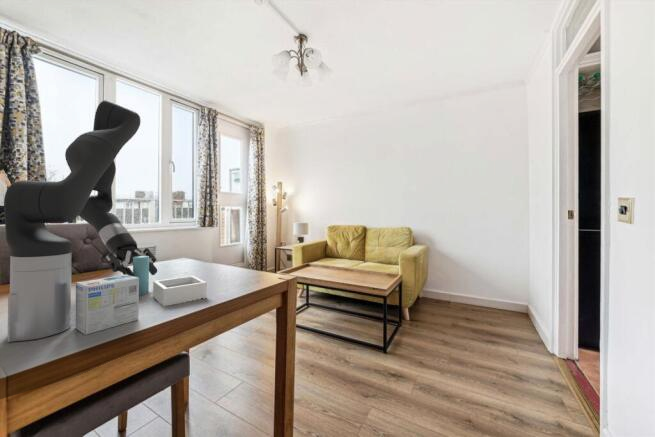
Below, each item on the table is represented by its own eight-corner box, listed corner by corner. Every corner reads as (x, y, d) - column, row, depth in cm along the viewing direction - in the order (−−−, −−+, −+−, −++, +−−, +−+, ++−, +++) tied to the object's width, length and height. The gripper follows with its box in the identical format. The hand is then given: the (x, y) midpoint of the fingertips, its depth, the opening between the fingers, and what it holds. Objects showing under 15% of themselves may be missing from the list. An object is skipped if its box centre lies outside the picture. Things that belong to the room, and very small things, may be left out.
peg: (133, 295, 86) (134, 258, 85) (131, 292, 89) (131, 256, 88) (150, 293, 89) (150, 257, 89) (146, 290, 92) (147, 255, 92)
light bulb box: (127, 314, 70) (128, 273, 70) (139, 320, 67) (140, 277, 67) (73, 328, 61) (74, 281, 61) (84, 335, 58) (85, 286, 58)
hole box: (163, 306, 77) (164, 289, 77) (153, 296, 85) (153, 281, 85) (206, 297, 85) (206, 282, 85) (192, 289, 94) (193, 275, 94)
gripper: (101, 233, 83) (129, 273, 81) (143, 231, 97) (168, 264, 94) (88, 249, 85) (116, 288, 82) (131, 244, 99) (156, 278, 96)
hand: (144, 276), depth 88 cm, fingers open, 7 cm apart
